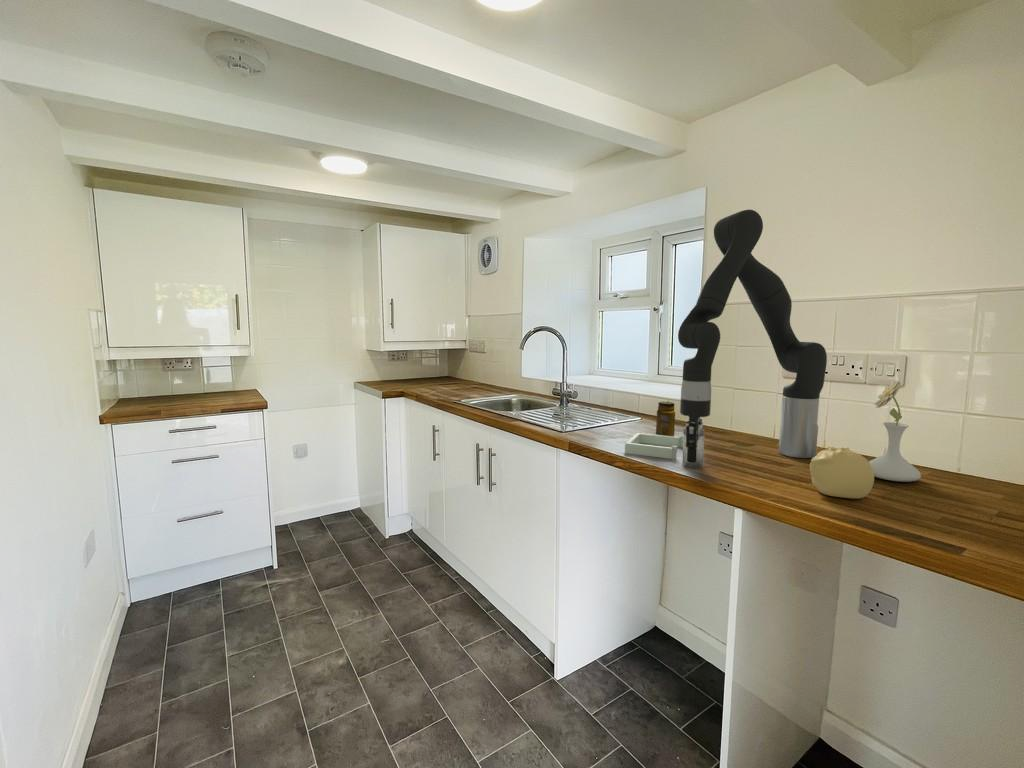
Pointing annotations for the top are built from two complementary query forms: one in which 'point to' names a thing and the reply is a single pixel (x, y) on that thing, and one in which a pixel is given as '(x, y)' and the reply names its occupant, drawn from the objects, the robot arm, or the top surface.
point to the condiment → (665, 419)
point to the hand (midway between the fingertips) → (692, 459)
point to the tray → (651, 450)
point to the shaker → (699, 454)
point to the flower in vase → (893, 444)
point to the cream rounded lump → (841, 473)
